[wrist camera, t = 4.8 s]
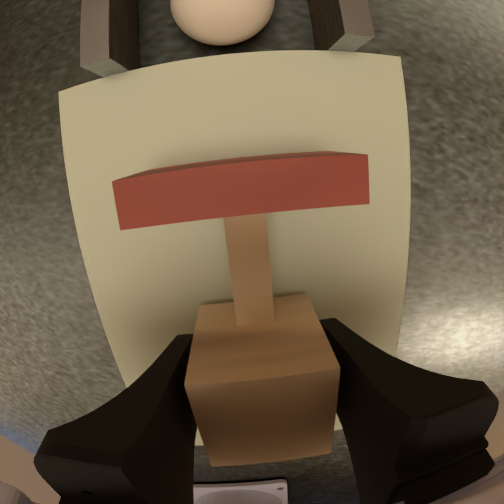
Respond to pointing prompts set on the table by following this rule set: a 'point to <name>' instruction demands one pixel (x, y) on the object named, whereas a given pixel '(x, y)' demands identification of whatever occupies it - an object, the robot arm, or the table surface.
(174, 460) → the robot arm
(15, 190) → the table surface
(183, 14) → the ball
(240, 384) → the t-shaped pusher
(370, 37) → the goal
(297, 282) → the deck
